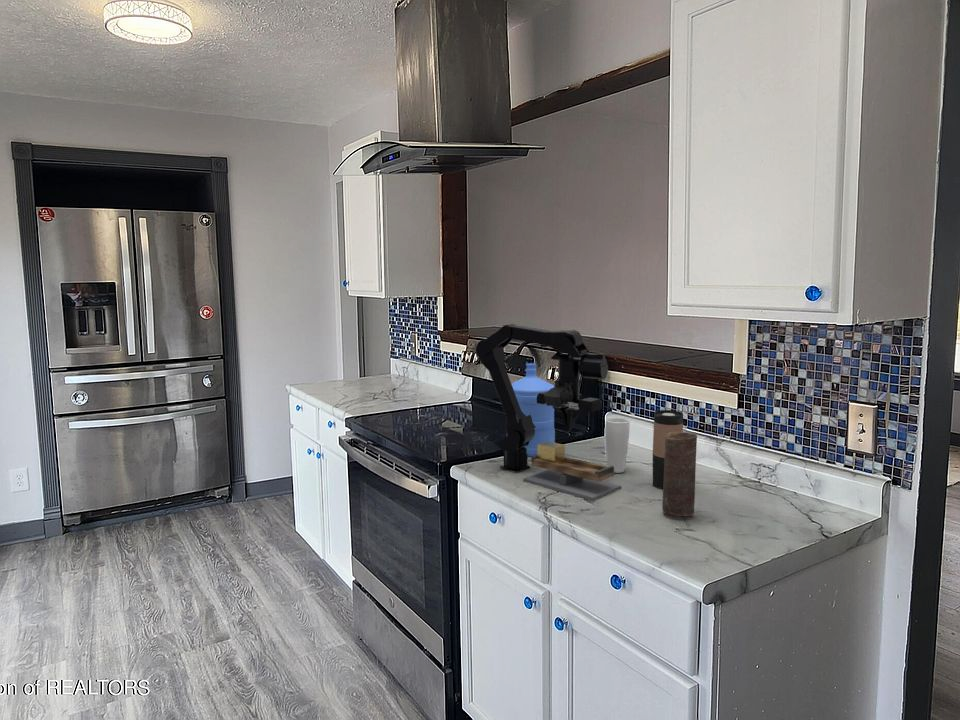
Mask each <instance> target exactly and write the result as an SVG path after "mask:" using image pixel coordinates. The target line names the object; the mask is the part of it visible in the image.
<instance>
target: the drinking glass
mask: <svg viewBox="0 0 960 720" xmlns="http://www.w3.org/2000/svg"><path fill="white" fill-rule="evenodd" d="M604 428H605V429H604V432H605V433H604V435H605V451H606V467H609V466H614V474H623V473H625V472H626V469H627V457H628V449H629V439H630V420H629V419H628V418H625V417H624V418H623V417H608V418H606V419H605V427H604Z"/></svg>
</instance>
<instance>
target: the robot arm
mask: <svg viewBox="0 0 960 720" xmlns="http://www.w3.org/2000/svg"><path fill="white" fill-rule="evenodd" d="M513 340H516V341H523V342H527V343H533V344H538V345H545V346H548V347H550V349H552V350H555V351H556V352H555V354H553V355H552V356H551V358H550V359H551V360H555V361H558V379H555V381H554V388H551V389H550V390H549V391H546V392H542V393H539V394H538V395H537V403H539V404H546V405H547V406H553V409H554V410H556V411H557V413H558V414H559V416H560V418H561V421H562V424H563V427H564V429H565V432H567V433H570V432H571V431H572V429H573V427H574V425H575V423H576V421H577V419H578V417H579V415H580V413H581V412H585V413H593V412H597V411H600V410H603V402H602V400H601V398H597V397H596V398H595V397H586V398H583V394H581V393H580V384H583V379H581V378H580V376H582V378H584V379H598V380H605V379H606V377H607V376H608V371H609V364H608V361H607V358H606V353H591V352H590V350H589V349H588V347H587V346H586V344H585V342H584V341H583V336H582V334H581V333H580V331H578V330H575V329H565V330H564V329H563V330H549V329H547V330H546V329H540V328H534V327H528V326H522V325H517V324H514V323H510V324H504V325H502V327H500V328H499V329H498V330H497V331H496V332H494V333H492V334H491V335H489V337H487V338H486V339H483V340H480V341H478V342H477V344H476V347H475V350H474V351H475V354H476V355H477V358H478V360H479V362H480V363H481V364H482V365H483V367H484V368H485V369H486V370H488V372H489V375H490V378H491V381H492V383H493V385H494V389H495V391H496V394H497V396H498V400H499V402H500V404H501V407H502V409H503V413H504V415H505V432H506V436H505V437H504V438H503V439H502V440H501V441H500V442H499V446H500V449H501V451H503V465H500V466H499V468H500V469H502V470H506V471H508V472H509V471H510V472H513V473H518V472H521V471H524V470H527V469H530V468H531V465H528V461H529V460H528V457H529V456H528V455H527V448H525V446H528V445H529V442H530V440H532V439H533V437H534V435H535V429H534V428H536V426H535V425H534V424H533V421H532V417H531V415H528V416H526V415H525V414H524V413H523V412H522V411H521V408H520V406H519V403H518V400H517V398H516V395H515V392H514V390H513V387H512V384H511V383H512V382H511V380H510V377H509V374H508V371H507V369H506V368H507V367H506V366H505V362H506V361H505V360H506V354H505V348H506V347H507V346H508V345H509V344H510V343H511V342H512V341H513ZM582 398H583V399H582Z"/></svg>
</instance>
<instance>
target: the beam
mask: <svg viewBox="0 0 960 720" xmlns="http://www.w3.org/2000/svg"><path fill="white" fill-rule="evenodd" d="M531 466H533V467H536V468H541V469H545V470H552V471H556V472H560V473H564V474H568V475H572V476H576V477H580V478H584V479H589V480H593V481H597V482H599V481H605V480H606V479H609V478H612V477H614V474H615V473H614V466H609V467H607V465H606V466H605V465H600V464H596V463H593V462H588V461H583V460H579V459H575V458H570V457H565V462H564V463H561V464H558V463H554V462H549V461H545V460H541V459H537V455H536V456H531Z"/></svg>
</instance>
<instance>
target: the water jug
mask: <svg viewBox="0 0 960 720" xmlns="http://www.w3.org/2000/svg"><path fill="white" fill-rule="evenodd" d="M525 366H526V368H525V372H526V373H525V377H524V376H523V377H522V378H520V379H518V380H516V381H514V382H511V384H512V387H513V390H514V392H515V395H516V398H517V400H518V403H519V406H520V408H521V411H522V412H523V413H524V414H525V415H526V416H528V415H531V417H532V421H533V424H534V425H535V426H536V428H534V429H535V435H534V437H533V439H532V440H530V442H529V445H528V446H525V448H527V455H528V457H533V456H536V455H537V449H538V444H540V443H543V442H546V441H549V442H554V443H556V430H555V409H553V406H547V405H546V404H539V403H537V395H538V394H539V393H542V392H546V391H549V390H550V389H551V388H554V386H555V384H552V383H550V382H548V381H545V380H544V379H542V378H540V377H538V376H537V368H536V366H537V363H534V362H532V363H531V362H530V363H529V362H528V363H525Z"/></svg>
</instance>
